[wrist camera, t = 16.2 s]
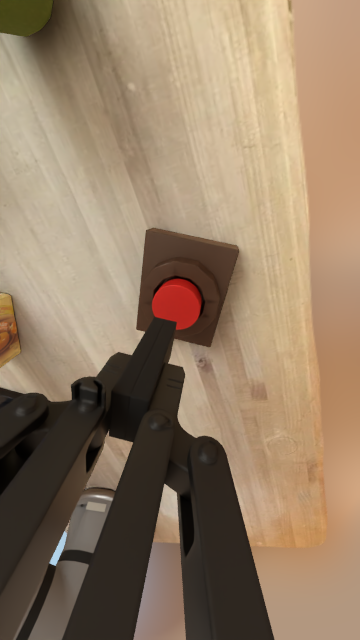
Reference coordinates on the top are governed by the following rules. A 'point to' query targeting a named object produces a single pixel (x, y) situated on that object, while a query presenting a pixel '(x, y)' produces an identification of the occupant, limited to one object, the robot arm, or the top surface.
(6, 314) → the candy box
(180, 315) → the button
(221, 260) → the button box
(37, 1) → the apple
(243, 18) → the top surface
